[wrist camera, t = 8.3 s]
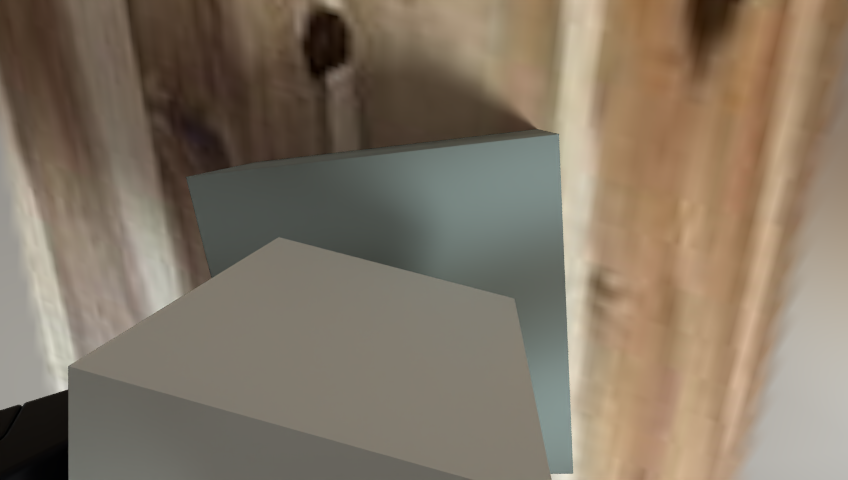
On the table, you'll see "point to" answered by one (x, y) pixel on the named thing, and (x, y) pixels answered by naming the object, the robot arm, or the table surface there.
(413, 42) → the table surface
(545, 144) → the slate block
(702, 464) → the table surface
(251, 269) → the cream block
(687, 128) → the table surface
